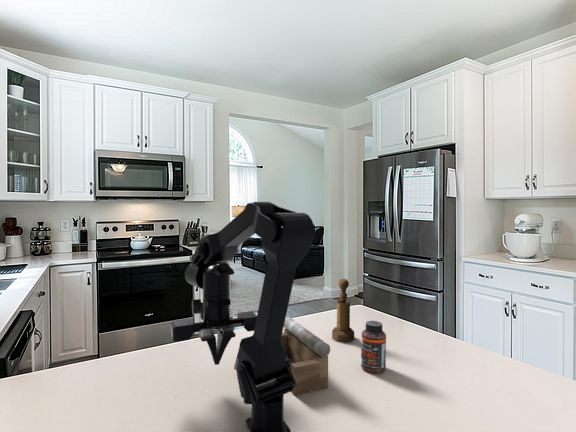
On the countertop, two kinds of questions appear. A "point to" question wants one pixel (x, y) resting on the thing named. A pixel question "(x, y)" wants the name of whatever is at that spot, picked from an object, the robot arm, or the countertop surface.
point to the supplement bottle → (373, 348)
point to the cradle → (305, 357)
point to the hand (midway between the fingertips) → (216, 363)
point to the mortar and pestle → (343, 316)
